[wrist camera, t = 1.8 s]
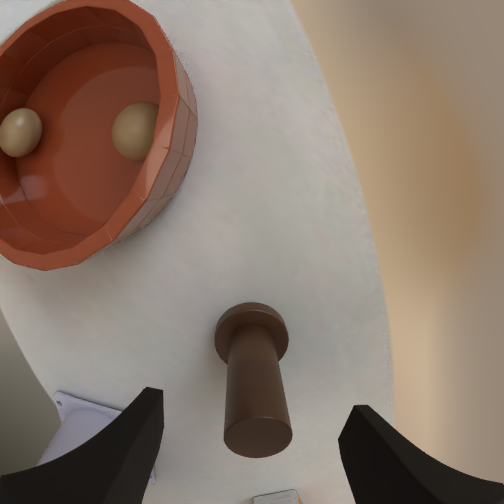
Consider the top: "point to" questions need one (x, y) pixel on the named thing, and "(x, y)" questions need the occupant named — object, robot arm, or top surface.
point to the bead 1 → (20, 132)
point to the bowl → (89, 130)
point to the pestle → (254, 380)
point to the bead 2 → (135, 130)
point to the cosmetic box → (279, 498)
